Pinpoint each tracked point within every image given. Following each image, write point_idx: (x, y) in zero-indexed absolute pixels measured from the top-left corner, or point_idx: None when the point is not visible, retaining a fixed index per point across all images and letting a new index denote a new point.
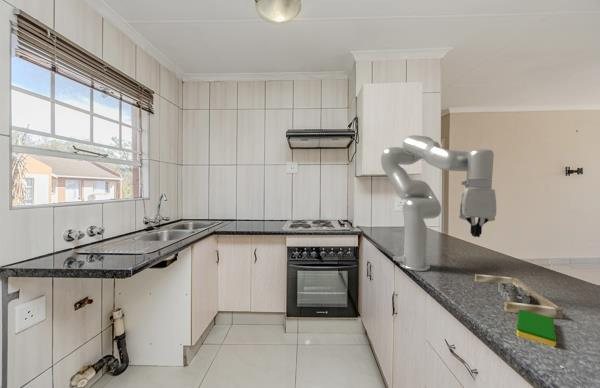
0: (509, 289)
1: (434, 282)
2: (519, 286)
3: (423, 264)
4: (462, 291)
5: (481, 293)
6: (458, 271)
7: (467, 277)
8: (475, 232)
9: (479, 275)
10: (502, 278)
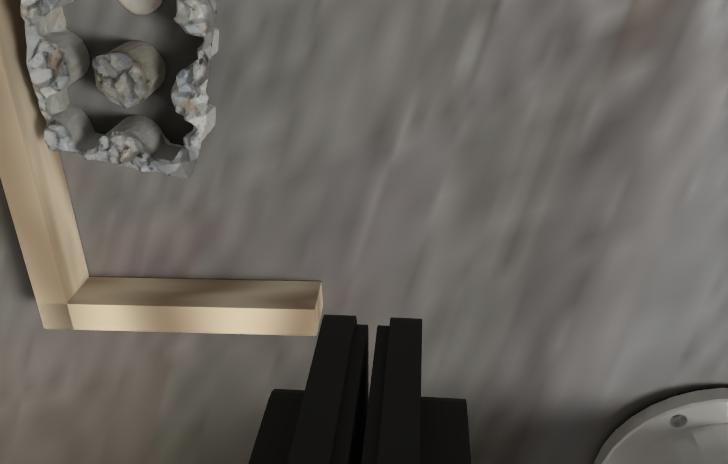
0: (143, 67)
1: (675, 166)
2: (55, 148)
3: (672, 458)
4: (505, 20)
5: (360, 26)
6: None
7: None
8: (407, 372)
9: (291, 312)
10: (136, 302)
